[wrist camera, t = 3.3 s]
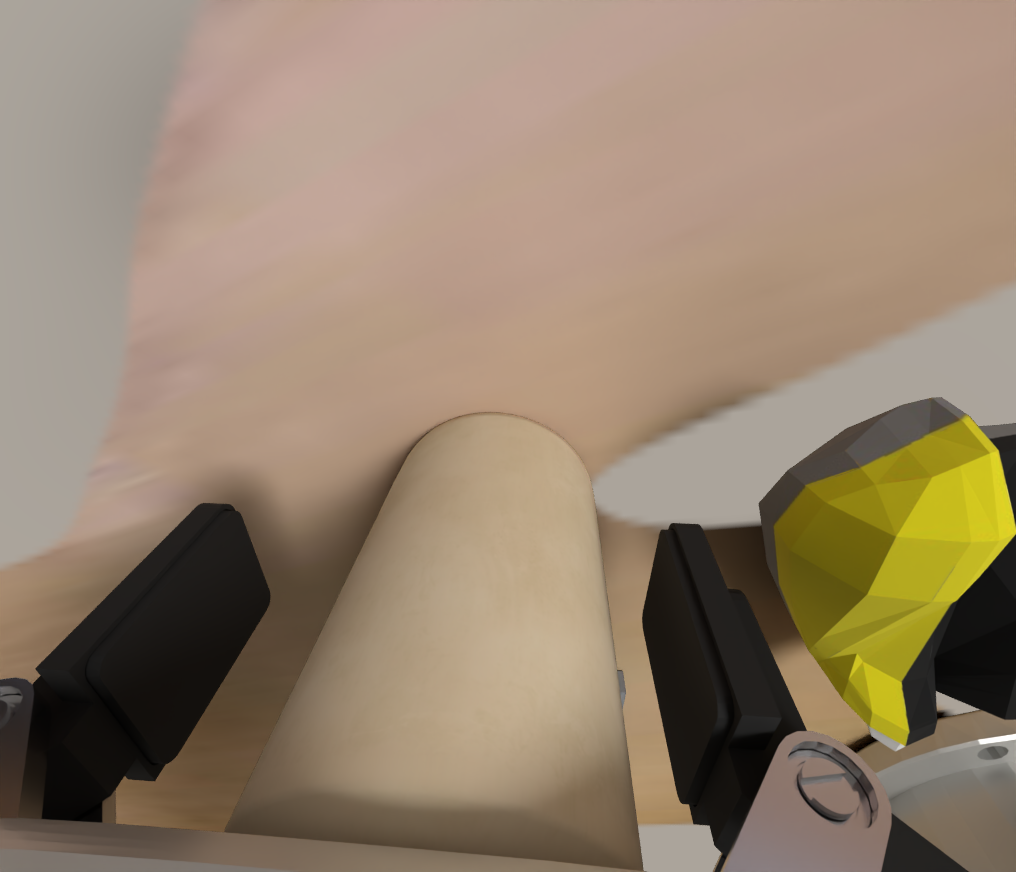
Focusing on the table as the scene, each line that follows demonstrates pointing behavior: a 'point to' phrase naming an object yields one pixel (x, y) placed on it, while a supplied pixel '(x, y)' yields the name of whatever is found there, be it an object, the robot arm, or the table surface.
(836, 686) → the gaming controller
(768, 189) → the table surface
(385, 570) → the candle
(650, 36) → the table surface
